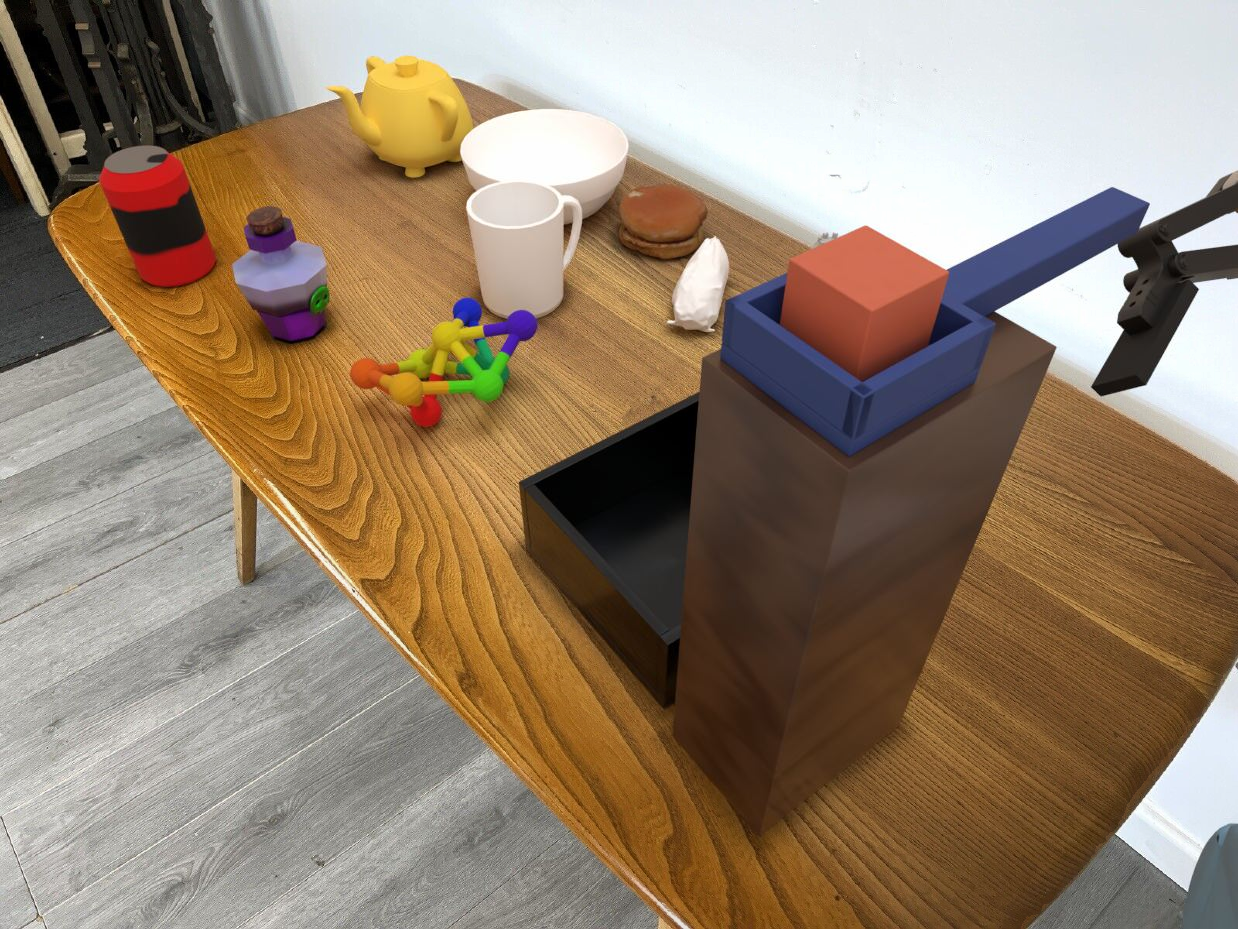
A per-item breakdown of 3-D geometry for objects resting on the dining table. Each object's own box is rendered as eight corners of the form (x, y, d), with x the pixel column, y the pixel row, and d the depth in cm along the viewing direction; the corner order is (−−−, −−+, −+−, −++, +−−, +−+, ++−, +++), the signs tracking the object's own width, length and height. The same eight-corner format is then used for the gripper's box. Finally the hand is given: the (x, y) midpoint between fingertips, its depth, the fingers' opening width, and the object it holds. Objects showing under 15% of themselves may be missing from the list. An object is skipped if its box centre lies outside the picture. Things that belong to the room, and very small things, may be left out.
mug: (495, 333, 88) (483, 237, 80) (466, 284, 93) (453, 191, 86) (601, 305, 91) (599, 211, 84) (567, 260, 97) (563, 168, 89)
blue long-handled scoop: (1188, 256, 42) (1216, 200, 40) (848, 457, 33) (863, 397, 31) (1055, 195, 46) (1074, 141, 44) (719, 358, 37) (725, 299, 35)
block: (924, 361, 35) (950, 271, 32) (851, 401, 33) (872, 310, 31) (847, 311, 37) (865, 223, 35) (775, 347, 36) (788, 258, 33)
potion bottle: (332, 354, 85) (301, 239, 77) (239, 353, 85) (198, 239, 77) (352, 300, 91) (325, 189, 83) (265, 300, 92) (229, 188, 83)
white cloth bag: (673, 291, 95) (662, 328, 86) (690, 228, 91) (682, 260, 83) (719, 304, 95) (713, 342, 86) (738, 241, 91) (735, 274, 83)
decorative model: (328, 353, 79) (470, 258, 82) (381, 428, 84) (512, 335, 88) (379, 405, 69) (537, 295, 72) (435, 486, 74) (579, 380, 78)
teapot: (370, 132, 118) (351, 36, 110) (482, 132, 118) (471, 36, 110) (346, 184, 108) (323, 83, 100) (468, 185, 108) (455, 83, 100)
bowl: (514, 266, 96) (508, 203, 91) (441, 193, 107) (432, 132, 102) (659, 218, 103) (661, 156, 98) (577, 153, 114) (575, 95, 109)
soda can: (207, 286, 93) (166, 176, 85) (131, 290, 93) (82, 180, 84) (224, 246, 99) (186, 139, 90) (151, 250, 98) (107, 142, 90)
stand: (899, 726, 58) (1057, 346, 37) (758, 837, 53) (849, 471, 32) (809, 640, 63) (904, 259, 42) (672, 735, 58) (701, 357, 37)
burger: (697, 266, 96) (700, 225, 92) (610, 256, 97) (609, 216, 94) (710, 218, 103) (713, 179, 99) (628, 210, 104) (629, 171, 101)
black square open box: (845, 587, 66) (864, 519, 61) (664, 710, 59) (668, 645, 54) (697, 457, 76) (702, 389, 70) (525, 550, 69) (518, 481, 63)
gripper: (1413, 349, 58) (1292, 623, 52) (1150, 71, 54) (985, 330, 48) (1565, 315, 51) (1447, 627, 45) (1276, -8, 47) (1101, 284, 41)
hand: (1208, 474), depth 46 cm, fingers open, 13 cm apart
